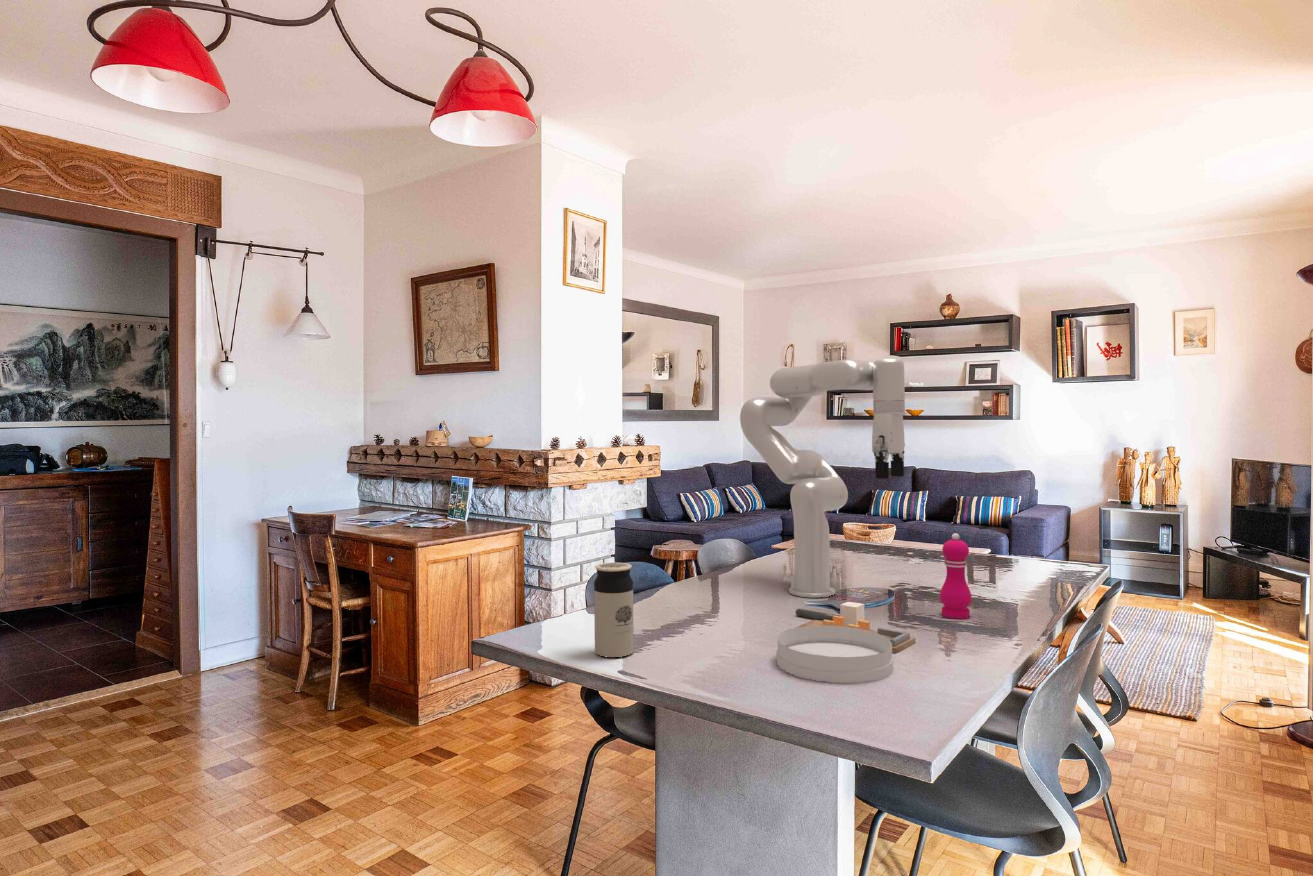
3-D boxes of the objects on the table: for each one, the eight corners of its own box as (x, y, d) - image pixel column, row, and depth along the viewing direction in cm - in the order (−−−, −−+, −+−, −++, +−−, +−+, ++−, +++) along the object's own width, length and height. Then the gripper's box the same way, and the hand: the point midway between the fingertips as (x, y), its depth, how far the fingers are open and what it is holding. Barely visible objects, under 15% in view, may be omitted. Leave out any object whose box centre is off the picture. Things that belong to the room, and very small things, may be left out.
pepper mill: (966, 612, 188) (966, 531, 188) (975, 619, 181) (975, 535, 181) (936, 611, 189) (936, 531, 189) (944, 619, 182) (944, 535, 181)
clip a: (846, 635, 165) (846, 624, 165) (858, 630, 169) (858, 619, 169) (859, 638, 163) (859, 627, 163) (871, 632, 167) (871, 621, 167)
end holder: (864, 640, 161) (864, 634, 161) (879, 633, 167) (879, 627, 167) (895, 646, 157) (895, 640, 157) (909, 638, 162) (909, 632, 162)
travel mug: (589, 650, 159) (588, 563, 159) (625, 645, 162) (624, 560, 162) (602, 661, 152) (601, 570, 152) (639, 655, 155) (638, 567, 155)
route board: (792, 633, 171) (792, 628, 171) (814, 623, 179) (814, 619, 179) (895, 653, 155) (895, 648, 155) (915, 642, 163) (915, 637, 163)
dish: (817, 642, 165) (817, 619, 165) (914, 665, 149) (914, 639, 149) (753, 666, 149) (753, 640, 149) (853, 694, 133) (853, 665, 133)
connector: (791, 617, 185) (791, 596, 185) (800, 614, 188) (800, 594, 188) (856, 629, 174) (856, 607, 174) (864, 625, 177) (864, 604, 177)
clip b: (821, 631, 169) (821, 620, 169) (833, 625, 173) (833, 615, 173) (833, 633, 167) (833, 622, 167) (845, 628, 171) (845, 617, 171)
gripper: (887, 409, 200) (888, 475, 200) (860, 408, 186) (861, 479, 186) (916, 408, 195) (917, 475, 195) (890, 407, 182) (891, 479, 182)
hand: (890, 477), depth 191 cm, fingers open, 9 cm apart
